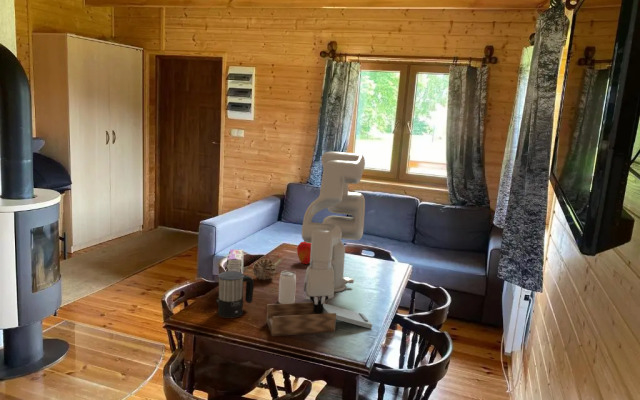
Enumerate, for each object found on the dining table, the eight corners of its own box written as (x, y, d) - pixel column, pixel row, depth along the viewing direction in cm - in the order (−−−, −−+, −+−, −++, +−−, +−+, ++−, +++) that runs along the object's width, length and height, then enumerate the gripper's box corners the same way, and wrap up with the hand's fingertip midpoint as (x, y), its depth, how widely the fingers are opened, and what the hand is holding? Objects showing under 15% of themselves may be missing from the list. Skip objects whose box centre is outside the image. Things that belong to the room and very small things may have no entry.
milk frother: (230, 321, 174) (231, 281, 171) (198, 309, 182) (199, 271, 179) (256, 308, 186) (257, 271, 183) (225, 298, 194) (226, 262, 191)
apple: (312, 267, 239) (313, 243, 237) (294, 264, 241) (295, 241, 239) (316, 261, 248) (317, 238, 246) (299, 259, 250) (300, 236, 248)
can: (297, 300, 196) (298, 272, 194) (290, 306, 190) (292, 276, 188) (282, 297, 198) (283, 269, 196) (275, 303, 192) (277, 274, 190)
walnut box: (325, 318, 180) (326, 301, 179) (334, 331, 170) (336, 313, 169) (266, 322, 174) (267, 304, 173) (272, 336, 164) (273, 317, 163)
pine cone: (267, 286, 210) (268, 264, 208) (247, 282, 213) (248, 260, 211) (287, 271, 230) (288, 251, 229) (269, 268, 233) (270, 248, 232)
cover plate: (362, 317, 183) (364, 312, 183) (371, 328, 174) (373, 323, 174) (318, 306, 177) (320, 300, 177) (325, 316, 169) (328, 310, 169)
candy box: (228, 286, 207) (229, 248, 204) (242, 286, 208) (244, 249, 205) (225, 298, 194) (226, 258, 191) (240, 298, 194) (241, 259, 191)
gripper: (338, 260, 175) (334, 308, 179) (297, 261, 171) (294, 310, 175) (344, 266, 168) (341, 316, 171) (302, 267, 164) (299, 319, 167)
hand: (317, 313), depth 173 cm, fingers closed
